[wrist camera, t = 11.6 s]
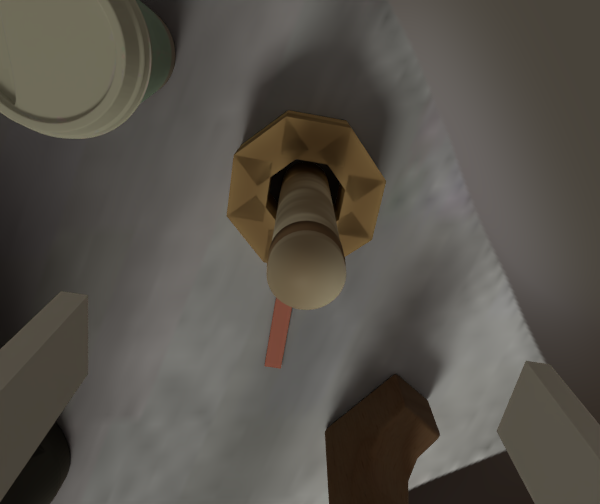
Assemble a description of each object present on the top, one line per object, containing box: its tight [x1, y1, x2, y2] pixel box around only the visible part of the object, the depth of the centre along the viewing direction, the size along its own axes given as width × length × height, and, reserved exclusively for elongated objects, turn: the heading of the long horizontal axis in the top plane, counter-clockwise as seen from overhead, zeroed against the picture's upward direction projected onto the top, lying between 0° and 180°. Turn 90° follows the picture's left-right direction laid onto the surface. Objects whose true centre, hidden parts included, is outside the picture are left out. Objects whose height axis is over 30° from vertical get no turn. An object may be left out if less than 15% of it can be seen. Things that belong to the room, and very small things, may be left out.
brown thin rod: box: [265, 297, 292, 368], centre depth 39 cm, size 11×1×1 cm, turn 170°
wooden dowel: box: [267, 161, 346, 310], centre depth 28 cm, size 4×4×16 cm
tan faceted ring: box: [227, 110, 386, 263], centre depth 33 cm, size 10×10×4 cm
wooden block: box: [325, 374, 440, 504], centre depth 35 cm, size 9×4×18 cm, turn 136°
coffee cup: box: [0, 0, 175, 139], centre depth 26 cm, size 8×9×12 cm
